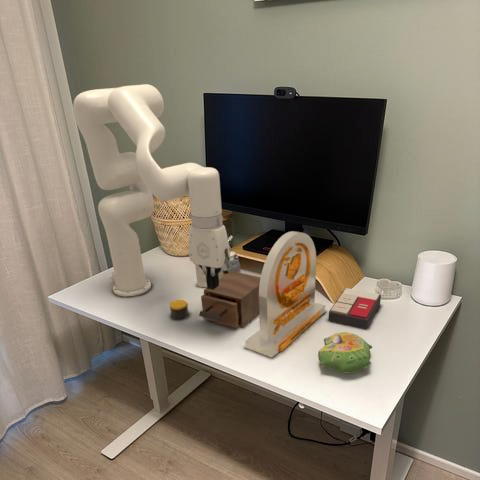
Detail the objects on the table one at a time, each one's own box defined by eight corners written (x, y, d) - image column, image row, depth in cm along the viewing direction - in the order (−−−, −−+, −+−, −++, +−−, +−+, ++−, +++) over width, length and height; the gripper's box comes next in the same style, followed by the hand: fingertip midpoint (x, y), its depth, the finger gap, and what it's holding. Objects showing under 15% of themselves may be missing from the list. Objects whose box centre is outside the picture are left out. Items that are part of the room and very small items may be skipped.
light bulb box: (209, 273, 160) (206, 244, 155) (226, 275, 158) (225, 246, 153) (196, 286, 152) (193, 256, 146) (215, 288, 150) (212, 258, 144)
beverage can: (241, 292, 147) (240, 257, 141) (219, 291, 148) (217, 257, 142) (245, 283, 152) (243, 250, 146) (224, 282, 153) (221, 249, 147)
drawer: (226, 336, 122) (224, 313, 119) (192, 326, 128) (190, 303, 124) (260, 307, 136) (259, 285, 132) (228, 299, 141) (227, 277, 137)
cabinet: (242, 327, 128) (241, 299, 123) (206, 317, 134) (203, 289, 129) (267, 305, 138) (267, 278, 134) (232, 297, 144) (231, 270, 140)
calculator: (328, 309, 127) (345, 285, 138) (327, 322, 129) (344, 297, 140) (367, 317, 122) (381, 292, 133) (366, 331, 124) (380, 304, 135)
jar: (167, 317, 135) (166, 305, 133) (178, 309, 138) (177, 298, 136) (181, 321, 132) (179, 309, 130) (191, 313, 136) (190, 301, 134)
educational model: (375, 346, 117) (377, 328, 114) (368, 384, 104) (370, 365, 101) (326, 339, 121) (327, 321, 118) (313, 374, 108) (314, 355, 105)
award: (273, 358, 114) (272, 256, 100) (245, 347, 119) (241, 248, 105) (326, 312, 133) (332, 221, 119) (300, 304, 138) (302, 215, 124)
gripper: (174, 221, 113) (182, 287, 122) (223, 229, 106) (228, 298, 115) (192, 212, 118) (199, 277, 127) (240, 219, 111) (244, 287, 120)
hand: (213, 287), depth 121 cm, fingers closed
